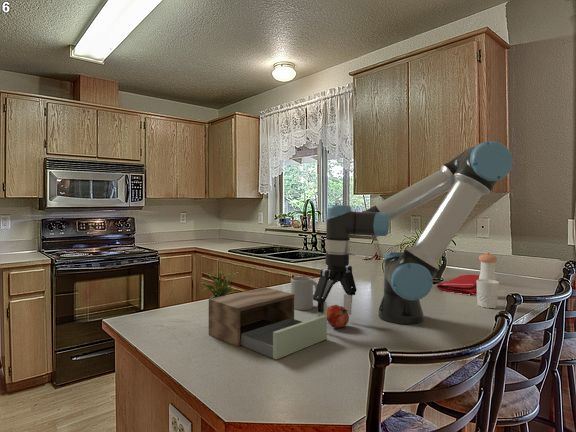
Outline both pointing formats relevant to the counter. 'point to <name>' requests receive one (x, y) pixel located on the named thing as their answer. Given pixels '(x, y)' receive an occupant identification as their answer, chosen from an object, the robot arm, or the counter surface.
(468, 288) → the dish drying mat
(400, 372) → the counter surface
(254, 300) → the cabinet box
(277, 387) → the counter surface
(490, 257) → the pepper shaker
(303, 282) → the mug
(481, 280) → the white cup
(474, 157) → the robot arm
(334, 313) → the pomegranate
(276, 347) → the drawer
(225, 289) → the house plant
